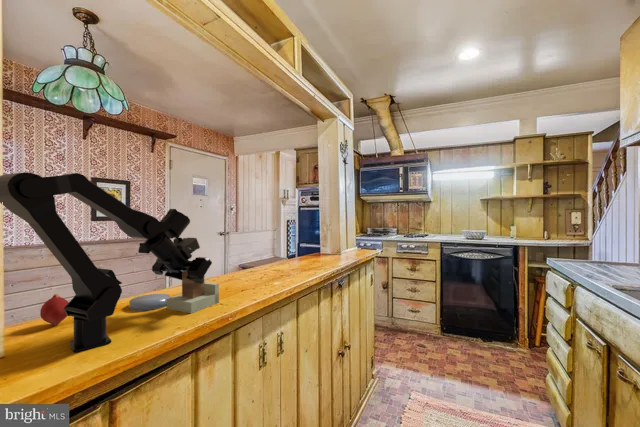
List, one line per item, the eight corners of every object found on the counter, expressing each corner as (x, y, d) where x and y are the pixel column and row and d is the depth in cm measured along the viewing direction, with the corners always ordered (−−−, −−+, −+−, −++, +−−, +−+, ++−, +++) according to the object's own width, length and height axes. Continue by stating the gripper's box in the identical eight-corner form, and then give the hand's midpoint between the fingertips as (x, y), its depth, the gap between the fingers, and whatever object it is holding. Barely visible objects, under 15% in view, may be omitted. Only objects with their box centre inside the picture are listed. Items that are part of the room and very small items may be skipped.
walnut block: (193, 298, 89) (193, 268, 89) (182, 296, 91) (182, 267, 91) (204, 294, 93) (204, 266, 93) (193, 293, 95) (193, 265, 95)
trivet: (175, 304, 92) (175, 298, 92) (135, 313, 84) (135, 306, 84) (162, 297, 100) (162, 291, 100) (124, 305, 92) (124, 298, 92)
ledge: (191, 313, 85) (191, 292, 85) (166, 308, 89) (166, 288, 89) (218, 302, 95) (218, 283, 95) (195, 298, 99) (195, 280, 99)
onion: (36, 326, 75) (35, 295, 75) (64, 319, 80) (63, 289, 80) (46, 331, 72) (46, 298, 72) (74, 323, 77) (74, 292, 77)
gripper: (206, 229, 84) (232, 262, 94) (160, 228, 92) (189, 259, 102) (184, 262, 77) (215, 293, 87) (136, 257, 85) (169, 287, 95)
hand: (196, 281), depth 93 cm, fingers closed on walnut block, 4 cm apart
